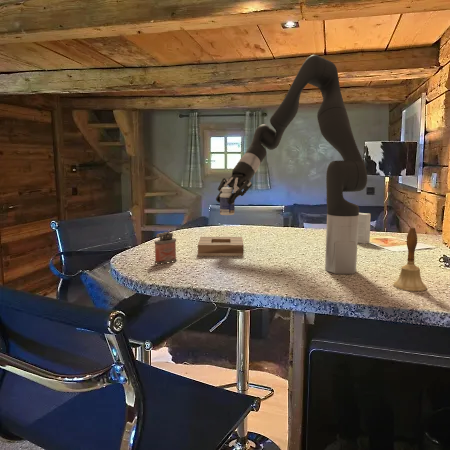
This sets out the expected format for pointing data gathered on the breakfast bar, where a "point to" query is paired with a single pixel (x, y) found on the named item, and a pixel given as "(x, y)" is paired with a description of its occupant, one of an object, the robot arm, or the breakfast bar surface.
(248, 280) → the breakfast bar surface
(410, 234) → the hand bell
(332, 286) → the breakfast bar surface
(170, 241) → the lighter
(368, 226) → the skincare box
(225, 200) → the pill bottle
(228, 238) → the socket block
